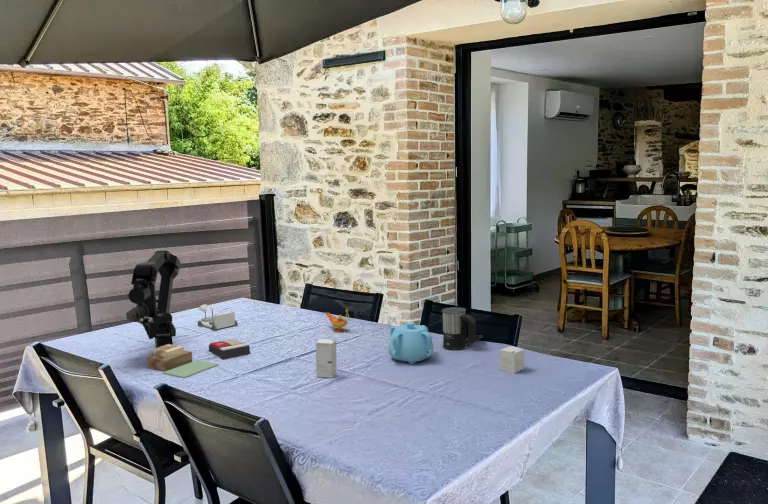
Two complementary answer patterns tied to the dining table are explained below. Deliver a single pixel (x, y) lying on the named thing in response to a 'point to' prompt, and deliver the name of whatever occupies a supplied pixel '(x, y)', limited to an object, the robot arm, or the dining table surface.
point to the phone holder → (217, 319)
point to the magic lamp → (338, 321)
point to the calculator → (229, 349)
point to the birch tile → (168, 351)
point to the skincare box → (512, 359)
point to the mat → (190, 368)
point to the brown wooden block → (169, 361)
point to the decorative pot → (410, 343)
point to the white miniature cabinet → (326, 358)
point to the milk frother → (458, 329)
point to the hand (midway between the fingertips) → (151, 338)
